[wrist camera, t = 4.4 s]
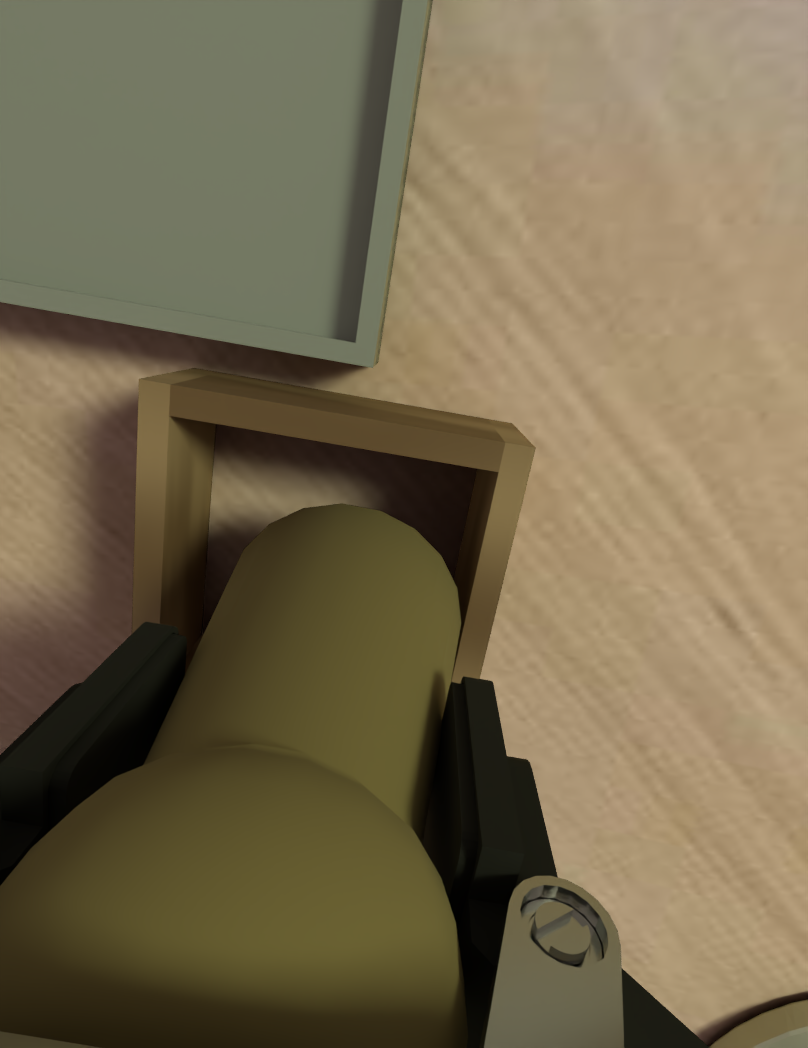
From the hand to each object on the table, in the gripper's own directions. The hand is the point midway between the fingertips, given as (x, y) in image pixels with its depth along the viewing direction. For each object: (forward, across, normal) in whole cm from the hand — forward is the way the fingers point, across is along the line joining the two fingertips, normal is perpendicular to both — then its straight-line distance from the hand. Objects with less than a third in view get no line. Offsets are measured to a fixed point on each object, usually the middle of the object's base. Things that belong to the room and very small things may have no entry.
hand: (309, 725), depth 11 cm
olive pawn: (+5, 0, 0) cm, 5 cm away
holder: (+8, +1, -1) cm, 8 cm away
